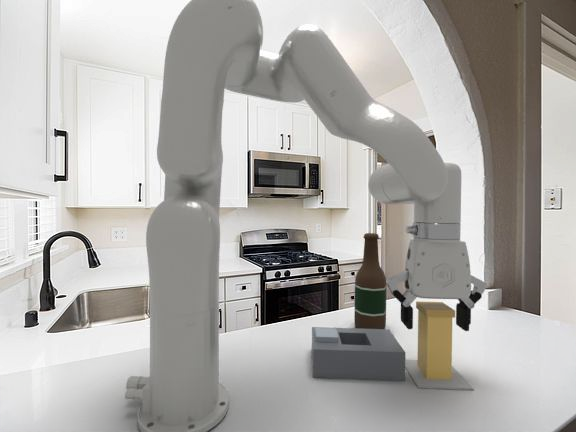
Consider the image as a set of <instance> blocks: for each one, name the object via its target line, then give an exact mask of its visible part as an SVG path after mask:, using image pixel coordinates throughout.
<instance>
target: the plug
mask: <svg viewBox="0 0 576 432" xmlns="http://www.w3.org/2000/svg"><path fill="white" fill-rule="evenodd" d="M415 308H416V309H417V360H418V361H417V366H418V368H419V369H420V370H421V372H422V373H423V374H424V376H425V377H426V378H427V379H448V380H451V372H452V366H453V364H452V359H453V318H455V319H456V309H453V308H452V307H451V306H449V305H447V304H446V303H445V302H442V301H416V302H415Z"/></svg>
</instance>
